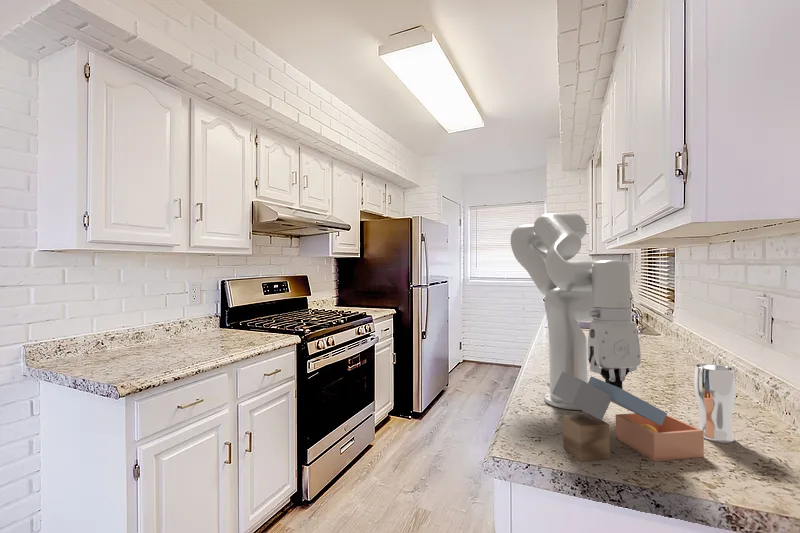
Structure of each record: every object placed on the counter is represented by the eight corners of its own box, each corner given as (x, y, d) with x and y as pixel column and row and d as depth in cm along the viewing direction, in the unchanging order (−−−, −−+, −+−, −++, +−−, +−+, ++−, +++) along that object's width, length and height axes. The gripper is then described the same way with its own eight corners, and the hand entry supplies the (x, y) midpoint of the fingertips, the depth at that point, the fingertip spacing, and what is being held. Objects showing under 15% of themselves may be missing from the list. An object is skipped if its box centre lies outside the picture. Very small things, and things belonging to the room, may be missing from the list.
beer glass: (696, 428, 89) (694, 361, 90) (736, 435, 85) (734, 366, 85) (694, 438, 84) (692, 367, 84) (737, 447, 80) (735, 372, 80)
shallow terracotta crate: (615, 437, 85) (615, 414, 85) (660, 434, 86) (659, 411, 86) (654, 461, 74) (654, 434, 74) (703, 456, 76) (703, 430, 76)
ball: (644, 417, 82) (651, 434, 82) (628, 426, 82) (635, 443, 82) (659, 425, 78) (667, 443, 78) (643, 434, 78) (650, 452, 78)
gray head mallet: (574, 406, 73) (590, 372, 73) (535, 383, 88) (548, 355, 88) (656, 449, 75) (671, 415, 76) (604, 420, 90) (617, 392, 91)
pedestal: (581, 461, 75) (580, 426, 75) (563, 447, 80) (562, 415, 81) (610, 458, 75) (609, 424, 76) (590, 445, 81) (589, 413, 81)
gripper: (591, 318, 83) (594, 405, 83) (654, 316, 86) (657, 401, 85) (571, 314, 91) (573, 395, 90) (629, 313, 93) (632, 391, 92)
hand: (614, 397), depth 88 cm, fingers closed
